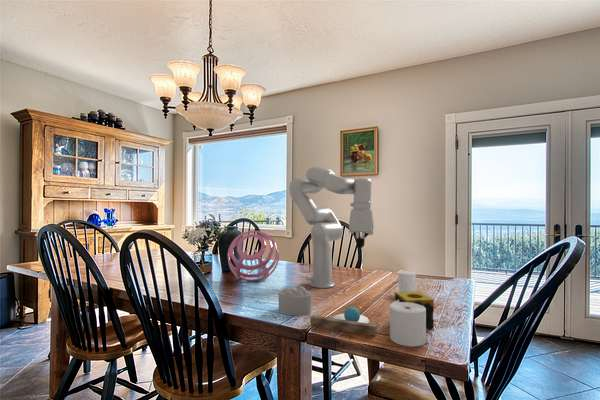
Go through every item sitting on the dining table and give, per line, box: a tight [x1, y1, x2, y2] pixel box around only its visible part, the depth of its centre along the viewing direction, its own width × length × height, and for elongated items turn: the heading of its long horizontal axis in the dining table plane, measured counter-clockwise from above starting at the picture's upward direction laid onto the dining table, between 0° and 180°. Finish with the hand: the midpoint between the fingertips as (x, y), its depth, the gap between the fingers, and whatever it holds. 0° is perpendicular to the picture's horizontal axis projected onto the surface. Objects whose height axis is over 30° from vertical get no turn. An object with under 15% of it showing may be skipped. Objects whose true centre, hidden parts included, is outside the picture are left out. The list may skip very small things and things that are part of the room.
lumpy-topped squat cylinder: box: [277, 286, 312, 317], centre depth 129 cm, size 10×13×9 cm
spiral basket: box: [227, 230, 280, 283], centre depth 181 cm, size 28×28×27 cm
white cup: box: [397, 270, 417, 292], centre depth 151 cm, size 8×8×10 cm
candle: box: [394, 291, 435, 330], centre depth 114 cm, size 10×10×10 cm
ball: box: [343, 306, 361, 322], centre depth 115 cm, size 6×6×6 cm
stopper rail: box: [310, 315, 378, 337], centre depth 109 cm, size 22×2×3 cm, turn 66°
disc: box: [332, 312, 370, 324], centre depth 118 cm, size 13×13×1 cm
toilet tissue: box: [389, 300, 427, 347], centre depth 102 cm, size 11×12×10 cm
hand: (360, 247), depth 147 cm, fingers closed
